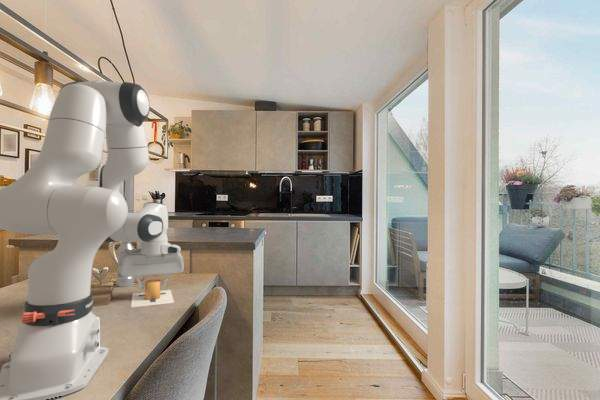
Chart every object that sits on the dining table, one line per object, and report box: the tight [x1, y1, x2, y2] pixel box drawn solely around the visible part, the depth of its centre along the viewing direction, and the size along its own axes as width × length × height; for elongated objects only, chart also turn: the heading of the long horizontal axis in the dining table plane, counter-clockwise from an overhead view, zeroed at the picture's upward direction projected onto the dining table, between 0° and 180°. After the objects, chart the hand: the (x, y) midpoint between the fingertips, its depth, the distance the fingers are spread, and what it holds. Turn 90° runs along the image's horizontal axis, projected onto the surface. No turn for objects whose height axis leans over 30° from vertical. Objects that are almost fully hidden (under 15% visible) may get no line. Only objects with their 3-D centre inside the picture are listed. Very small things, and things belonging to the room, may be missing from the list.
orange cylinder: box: [144, 278, 162, 300], centre depth 111 cm, size 5×5×6 cm
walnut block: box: [90, 289, 114, 308], centre depth 105 cm, size 9×8×4 cm
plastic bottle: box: [115, 242, 136, 288], centre depth 125 cm, size 6×7×20 cm
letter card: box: [130, 289, 175, 308], centre depth 111 cm, size 16×13×1 cm
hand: (152, 287), depth 111 cm, fingers open, 5 cm apart
